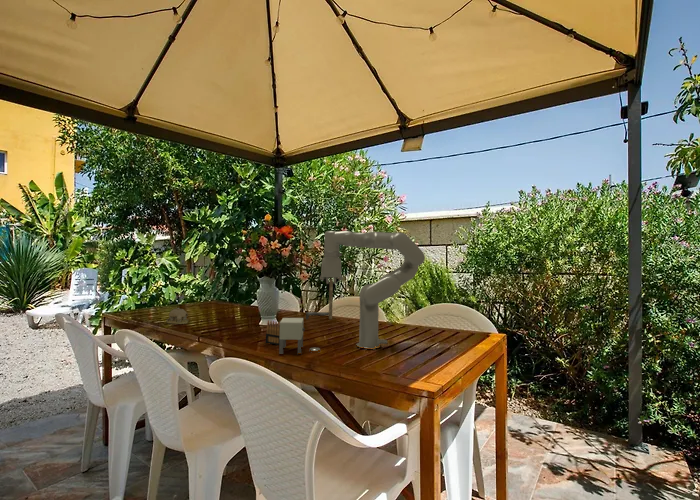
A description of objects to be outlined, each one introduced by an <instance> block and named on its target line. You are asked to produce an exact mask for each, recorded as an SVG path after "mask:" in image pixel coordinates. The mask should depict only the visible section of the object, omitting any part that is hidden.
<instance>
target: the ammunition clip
mask: <svg viewBox="0 0 700 500" xmlns="http://www.w3.org/2000/svg"><path fill="white" fill-rule="evenodd" d="M279 340H280V321H278V322H277V321H274V320H267V323H266V333H265V344H266V343H270V344H269V345H271V344H276V345H275V346H277V345H279Z"/></svg>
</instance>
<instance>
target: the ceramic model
mask: <svg viewBox="0 0 700 500" xmlns="http://www.w3.org/2000/svg"><path fill="white" fill-rule="evenodd" d="M168 316H169V318H167V319H166V320H165V322H166V324H175V325H182V324H183V325H187V324H188V323H189V319H187V317H188V316H189V314H188V312H187V311H186V310H185V309H184V308H180V307H177V308H173V309H172V310H171V311H169V314H168Z"/></svg>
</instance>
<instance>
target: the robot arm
mask: <svg viewBox="0 0 700 500" xmlns="http://www.w3.org/2000/svg"><path fill="white" fill-rule="evenodd" d="M340 245H341V246H343V247H352V248H353V247H356V248H368V249H377V250H378V249H380V250H392V251H393V250H394V251H395V250H396V251H398V252H399V253H400V254H401V255H402V257H403V263H402V264H401V265H400V266H399V267H398V268H396V269H394V270H392V271H391V272H389V273H386V274H384V275H382V276H381V277H380V278H379V280H377V281H376V282H374V283H367V284H365V285H363V286H362V288H360V291H359V331H358V333H359V334H358V335H359V338H358V341H359V342H357V343H355V346H356V345H357V346H359V347H364V348H374V347H375V346H376V347H377V346H379V344H381V345H382V344H384V345H387V344H388V339H380V338H379V315H380V314H379V313H380V312H379V308H380V307H379V303H381V302H383V301H385V300H388V299H389V298H391V297H392V296H394V295H395V294H396V293H398V292H399V290H400V288H401V286H403V285H405V284H406V283H407V282H409V281H411V280H413V278H414V277H415V276H416V275H417V272H418V270H419V266H422V264H424V262H425V257H426V256H425V253H424V251H423V250H422V249H421V248H420V247H419V246H418V245H417V244H416V243H415V242H414V241H413V239H411V238H410V237H409V236H408V235H407V234H406V233H404V232H384V231H370V232H354V231H353V232H352V231H350V230H342V231H341V230H339V231H338V230H327V231H325V232H324V249H323V250H324V251H323V252H324V254H323V256H324V257H323V258H322V260H321V269H320V270H321V271H320V272H321V273H320V275H319V280H322V281H324V283H326V291H327V292H328V293H329V286H330V284H329V282H330V279H333V293H334V292H335V291H336V284H337V283H338V282H340V281H343V279H344V278H343V275H342V261H341V260H342V259H341V257H342V256H343V253H342V252H340Z"/></svg>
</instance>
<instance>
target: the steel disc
mask: <svg viewBox="0 0 700 500" xmlns="http://www.w3.org/2000/svg"><path fill="white" fill-rule="evenodd" d="M310 350H311V351H318V350H320V351H321V348H320V347H310V348H309V351H310Z"/></svg>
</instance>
